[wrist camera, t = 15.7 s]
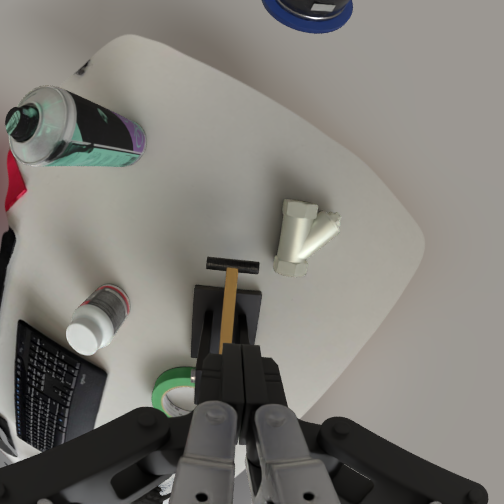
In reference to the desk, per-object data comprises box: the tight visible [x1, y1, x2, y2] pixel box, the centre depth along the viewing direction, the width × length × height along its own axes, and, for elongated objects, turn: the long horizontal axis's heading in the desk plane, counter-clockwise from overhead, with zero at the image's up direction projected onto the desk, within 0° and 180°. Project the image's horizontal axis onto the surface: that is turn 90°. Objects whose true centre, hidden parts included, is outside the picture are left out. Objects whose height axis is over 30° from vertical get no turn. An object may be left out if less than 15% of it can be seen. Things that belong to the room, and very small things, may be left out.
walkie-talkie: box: [130, 487, 171, 504], centre depth 45 cm, size 6×6×20 cm
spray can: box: [5, 85, 146, 167], centre depth 20 cm, size 6×6×20 cm
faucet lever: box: [206, 257, 259, 354], centre depth 27 cm, size 13×5×2 cm, turn 173°
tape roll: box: [152, 367, 196, 417], centre depth 38 cm, size 11×11×3 cm
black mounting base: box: [190, 285, 262, 404], centre depth 30 cm, size 10×8×13 cm
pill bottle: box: [66, 284, 130, 355], centre depth 30 cm, size 5×5×10 cm
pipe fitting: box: [273, 199, 341, 277], centre depth 32 cm, size 8×4×7 cm
